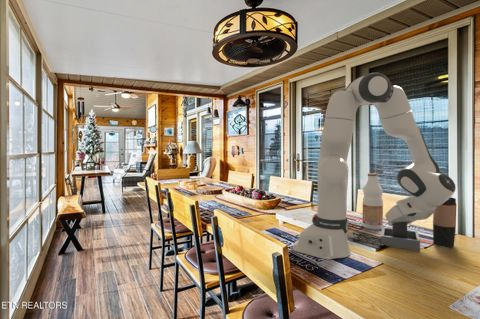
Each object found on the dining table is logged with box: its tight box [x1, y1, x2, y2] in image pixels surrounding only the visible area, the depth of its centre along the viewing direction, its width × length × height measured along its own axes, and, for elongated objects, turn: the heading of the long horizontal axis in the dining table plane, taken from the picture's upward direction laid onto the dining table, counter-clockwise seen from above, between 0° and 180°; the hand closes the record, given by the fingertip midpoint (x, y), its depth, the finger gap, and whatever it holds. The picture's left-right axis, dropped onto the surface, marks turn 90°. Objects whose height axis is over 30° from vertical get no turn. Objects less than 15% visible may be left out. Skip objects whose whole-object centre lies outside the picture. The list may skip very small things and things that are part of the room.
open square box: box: [380, 226, 421, 252], centre depth 119 cm, size 14×14×4 cm
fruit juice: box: [362, 172, 384, 231], centre depth 141 cm, size 9×9×28 cm
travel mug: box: [432, 196, 457, 249], centre depth 116 cm, size 8×8×20 cm
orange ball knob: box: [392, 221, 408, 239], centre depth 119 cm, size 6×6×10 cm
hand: (398, 223), depth 119 cm, fingers open, 8 cm apart
